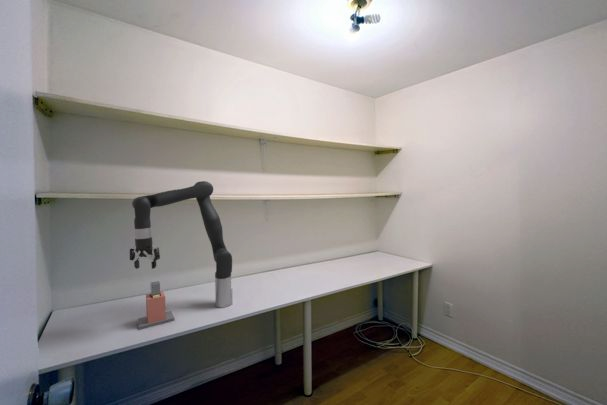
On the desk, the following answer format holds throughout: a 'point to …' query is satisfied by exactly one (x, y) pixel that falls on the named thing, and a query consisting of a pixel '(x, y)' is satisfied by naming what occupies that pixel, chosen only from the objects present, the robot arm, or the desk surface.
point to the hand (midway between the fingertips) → (145, 268)
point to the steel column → (155, 288)
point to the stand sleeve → (155, 312)
